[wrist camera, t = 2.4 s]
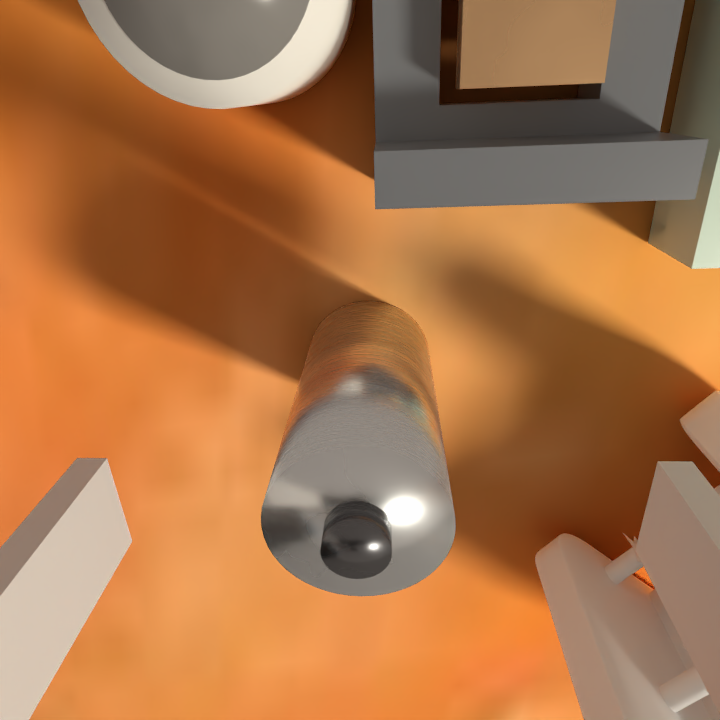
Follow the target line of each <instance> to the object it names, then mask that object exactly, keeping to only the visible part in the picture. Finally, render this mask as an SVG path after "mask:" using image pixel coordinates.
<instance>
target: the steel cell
mask: <svg viewBox="0 0 720 720" xmlns="http://www.w3.org/2000/svg"><path fill="white" fill-rule="evenodd" d="M261 526H262V531H263V535H264V538H265V541H266V543H267V546H268V547H269V549H270V551H271V552H272V554H273V555H274V557H275V558H276V559H277V560H278V562H279V563H280V564H281V565H282V566H283V567H284V568H285V569H286V570H288V571H289V572H290V573H292V574H293V575H294V576H296V577H297V578H299V579H301V580H302V581H304V582H306V583H308V584H310V585H312V586H314V587H317V588H319V589H322V590H325V591H329V592H333V593H337V594H343V595H350V596H375V595H382V594H388V593H392V592H396V591H399V590H402V589H405V588H407V587H410V586H412V585H414V584H416V583H418V582H419V581H421V580H423V579H424V578H426V577H427V576H428V575H430V574H431V573H432V572H433V571H435V570H436V568H437V567H438V566H439V565H440V564H441V563H442V562H443V560H444V559H445V558H446V556H447V554H448V553H449V551H450V549H451V547H452V543H453V540H454V537H455V529H456V522H455V513H454V506H453V500H452V494H451V488H450V481H449V475H448V469H447V463H446V456H445V450H444V444H443V437H442V431H441V425H440V419H439V412H438V406H437V400H436V394H435V387H434V381H433V375H432V369H431V362H430V356H429V350H428V345H427V341H426V338H425V335H424V333H423V331H422V330H421V328H420V327H419V325H418V324H417V323H416V321H415V320H414V319H413V318H412V317H411V316H409V315H408V314H407V313H406V312H404V311H402V310H401V309H399V308H397V307H395V306H392V305H390V304H386V303H382V302H376V301H361V302H355V303H351V304H348V305H345V306H342V307H340V308H338V309H336V310H335V311H333V312H332V313H331V314H329V315H328V316H327V317H326V318H325V319H324V320H323V321H322V322H321V323H320V325H319V326H318V328H317V329H316V331H315V333H314V336H313V338H312V342H311V345H310V348H309V352H308V355H307V358H306V362H305V365H304V368H303V372H302V375H301V378H300V382H299V385H298V388H297V392H296V395H295V398H294V402H293V405H292V408H291V412H290V415H289V419H288V422H287V425H286V429H285V432H284V435H283V439H282V442H281V445H280V449H279V452H278V455H277V459H276V462H275V465H274V469H273V472H272V475H271V479H270V482H269V485H268V489H267V492H266V495H265V499H264V502H263V506H262V512H261Z"/></svg>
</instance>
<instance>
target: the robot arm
mask: <svg viewBox="0 0 720 720" xmlns="http://www.w3.org/2000/svg"><path fill="white" fill-rule="evenodd" d="M131 543H132V539H131V536H130V532H129V529H128V526H127V523H126V519H125V516H124V513H123V509H122V506H121V503H120V500H119V496H118V493H117V490H116V486H115V483H114V480H113V477H112V473H111V470H110V467H109V463H108V460H107V458H77V459H76V460H75V461H74V462H73V464H72V465H71V466H70V467H69V468H68V469H67V471H66V472H65V473H64V474H63V475H62V476H61V478H60V479H59V480H58V481H57V482H56V483H55V485H54V486H53V487H52V488H51V489H50V491H49V492H48V493H47V494H46V495H45V496H44V498H43V499H42V500H41V501H40V502H39V503H38V505H37V506H36V507H35V508H34V509H33V510H32V512H31V513H30V514H29V515H28V516H27V517H26V519H25V520H24V521H23V522H22V523H21V524H20V526H19V527H18V528H17V529H16V530H15V532H14V533H13V534H12V535H11V536H10V537H9V539H8V540H7V541H6V542H5V543H4V544H3V546H2V547H1V548H0V720H29V719H30V717H31V715H32V714H33V712H34V710H35V708H36V707H37V705H38V703H39V702H40V700H41V698H42V696H43V695H44V693H45V691H46V689H47V688H48V686H49V684H50V683H51V681H52V679H53V677H54V676H55V674H56V672H57V670H58V669H59V667H60V665H61V664H62V662H63V660H64V658H65V657H66V655H67V653H68V651H69V650H70V648H71V646H72V645H73V643H74V641H75V639H76V638H77V636H78V634H79V632H80V631H81V629H82V627H83V626H84V624H85V622H86V620H87V619H88V617H89V615H90V613H91V612H92V610H93V608H94V606H95V605H96V603H97V601H98V600H99V598H100V596H101V594H102V593H103V591H104V589H105V587H106V586H107V584H108V582H109V581H110V579H111V577H112V575H113V574H114V572H115V570H116V568H117V567H118V565H119V563H120V562H121V560H122V558H123V556H124V555H125V553H126V551H127V549H128V548H129V546H130V544H131ZM635 550H636V552H637V554H638V556H639V558H640V560H641V562H642V564H643V566H644V568H645V570H646V572H647V573H648V575H649V577H650V579H651V581H652V583H653V585H654V587H655V589H656V591H657V593H658V595H659V597H660V599H661V601H662V603H663V605H664V607H665V609H666V611H667V613H668V615H669V617H670V619H671V620H672V622H673V624H674V626H675V628H676V630H677V632H678V634H679V636H680V638H681V640H682V642H683V644H684V646H685V648H686V650H687V652H688V654H689V656H690V658H691V660H692V662H693V664H694V665H695V667H696V669H697V671H698V673H699V675H700V677H701V679H702V681H703V683H704V685H705V687H706V689H707V691H708V693H709V695H710V697H711V699H712V701H713V703H714V705H715V707H716V709H717V711H718V712H719V714H720V496H719V495H718V493H717V492H716V491H715V490H714V488H713V487H712V486H711V485H710V483H709V482H708V481H707V479H706V478H705V477H704V476H703V474H702V473H701V472H700V470H699V469H698V468H697V467H696V465H695V464H694V463H693V461H658V462H657V466H656V470H655V474H654V478H653V482H652V486H651V490H650V494H649V498H648V502H647V506H646V510H645V514H644V518H643V522H642V525H641V529H640V533H639V537H638V541H637V545H636V549H635Z"/></svg>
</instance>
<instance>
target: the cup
mask: <svg viewBox="0 0 720 720" xmlns="http://www.w3.org/2000/svg"><path fill="white" fill-rule="evenodd" d="M78 2H79V4H80V6H81V8H82V10H83V12H84V14H85V16H86V18H87V20H88V22H89V24H90V25H91V27H92V28H93V30H94V32H95V33H96V35H97V36H98V38H99V39H100V41H101V42H102V43H103V45H104V46H105V47H106V48H107V50H108V51H109V52H110V53H111V55H112V56H113V57H114V58H115V59H116V60H117V61H118V62H119V63H120V64H121V65H122V66H123V67H124V68H125V69H126V70H127V71H128V72H129V73H131V74H132V75H133V76H134V77H135V78H137V79H138V80H139V81H140V82H142V83H143V84H145V85H146V86H148V87H150V88H151V89H153V90H154V91H156V92H157V93H160V94H162V95H164V96H166V97H168V98H170V99H172V100H175V101H178V102H181V103H184V104H187V105H190V106H196V107H202V108H210V109H227V108H236V107H244V106H253V105H261V104H269V103H277V102H281V101H285V100H289V99H291V98H294V97H296V96H298V95H301V94H302V93H304V92H305V91H307V90H309V89H310V88H312V87H313V86H314V85H315V84H317V83H318V82H319V81H320V80H321V79H322V78H323V77H324V76H325V75H326V74H327V73H328V72H329V71H330V69H331V68H332V67H333V65H334V64H335V62H336V61H337V59H338V58H339V56H340V54H341V52H342V50H343V48H344V46H345V44H346V41H347V39H348V36H349V33H350V30H351V26H352V22H353V18H354V11H355V4H356V0H78Z"/></svg>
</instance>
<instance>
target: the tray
mask: <svg viewBox="0 0 720 720" xmlns="http://www.w3.org/2000/svg"><path fill="white" fill-rule="evenodd" d="M670 133H672V134H678V135H684V136H691V137H697V138H704V139H709V140H708V145H707V149H706V154H705V158H704V162H703V167H702V171H701V176H700V180H699V184H698V189H697V193H696V198H695V199H692V200H660V201H656V204H655V209H654V215H653V220H652V225H651V230H650V235H649V240H648V243H649V244H651V245H652V246H654V247H656V248H657V249H659V250H661V251H662V252H664V253H666V254H668V255H669V256H671V257H673V258H674V259H676V260H678V261H679V262H681V263H683V264H685V265H686V266H688V267H690V268H691V269H698V268H720V0H695V5H694V10H693V16H692V21H691V26H690V31H689V36H688V41H687V46H686V51H685V56H684V61H683V67H682V72H681V77H680V82H679V87H678V92H677V97H676V102H675V107H674V113H673V118H672V123H671V128H670Z"/></svg>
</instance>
